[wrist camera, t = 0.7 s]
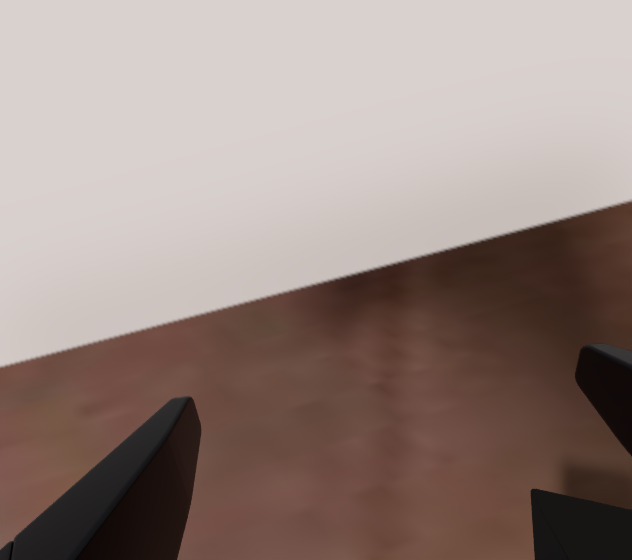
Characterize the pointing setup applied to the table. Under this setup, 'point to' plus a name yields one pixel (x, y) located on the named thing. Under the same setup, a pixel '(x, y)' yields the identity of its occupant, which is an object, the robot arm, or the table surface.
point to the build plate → (579, 528)
